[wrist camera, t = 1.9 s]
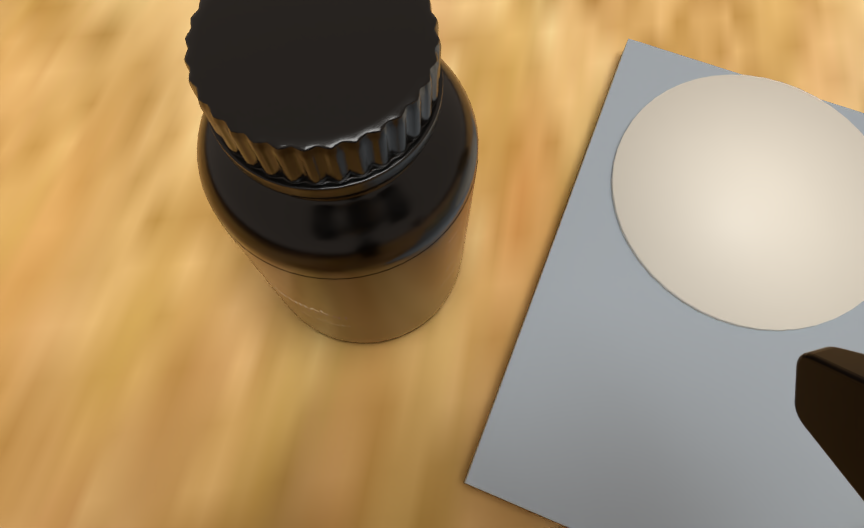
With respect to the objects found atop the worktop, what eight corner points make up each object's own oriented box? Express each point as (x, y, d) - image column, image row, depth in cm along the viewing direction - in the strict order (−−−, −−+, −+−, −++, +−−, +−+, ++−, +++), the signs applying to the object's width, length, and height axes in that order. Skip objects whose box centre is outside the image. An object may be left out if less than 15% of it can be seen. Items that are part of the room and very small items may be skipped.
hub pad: (869, 376, 20) (874, 375, 20) (575, 267, 21) (577, 265, 21) (912, 128, 23) (917, 125, 23) (652, 46, 25) (655, 42, 24)
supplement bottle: (264, 344, 22) (78, 192, 10) (289, 170, 24) (157, -111, 13) (461, 353, 22) (489, 209, 10) (466, 177, 24) (495, -100, 12)
